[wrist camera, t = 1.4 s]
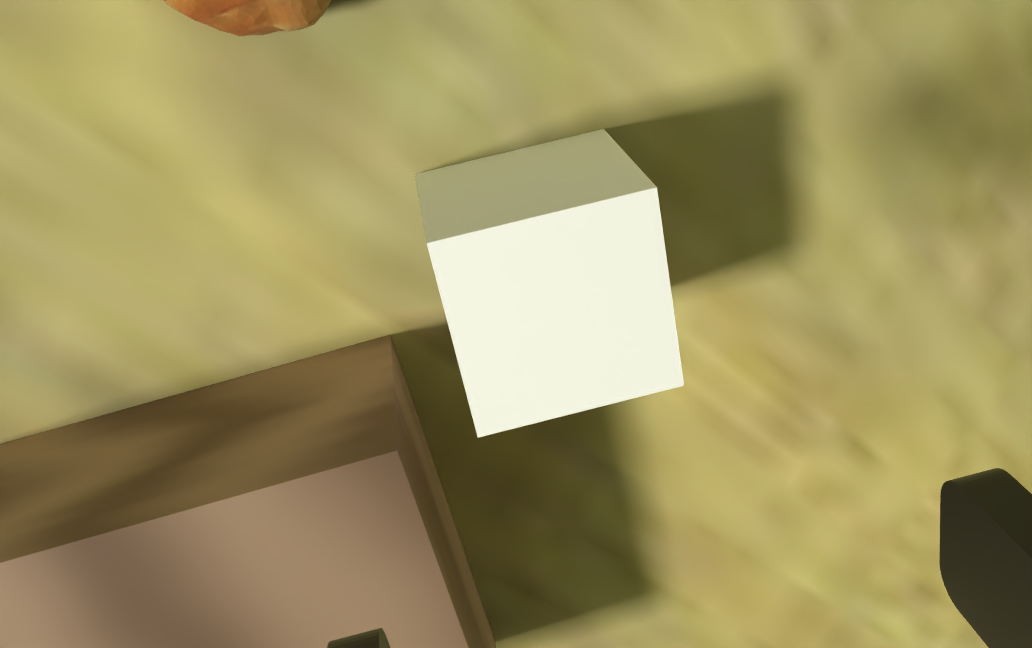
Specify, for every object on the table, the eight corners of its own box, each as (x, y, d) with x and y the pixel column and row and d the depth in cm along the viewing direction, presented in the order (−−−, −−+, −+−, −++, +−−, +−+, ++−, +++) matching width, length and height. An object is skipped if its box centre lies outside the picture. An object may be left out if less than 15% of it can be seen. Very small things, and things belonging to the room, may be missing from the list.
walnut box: (390, 330, 26) (397, 450, 21) (494, 635, 32) (520, 792, 27) (-32, 448, 26) (-133, 600, 21) (146, 736, 32) (103, 914, 26)
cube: (602, 128, 25) (656, 186, 20) (630, 298, 27) (683, 385, 22) (414, 173, 24) (426, 243, 20) (457, 341, 27) (477, 437, 22)
